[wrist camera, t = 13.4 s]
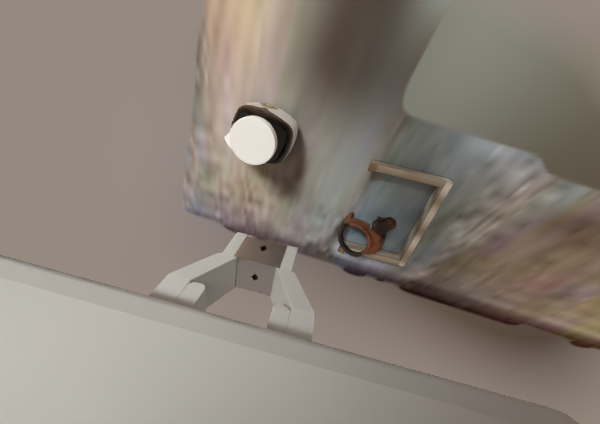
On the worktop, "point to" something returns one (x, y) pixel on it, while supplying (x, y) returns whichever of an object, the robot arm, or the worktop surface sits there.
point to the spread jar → (262, 134)
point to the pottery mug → (367, 233)
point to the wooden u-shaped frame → (424, 219)
